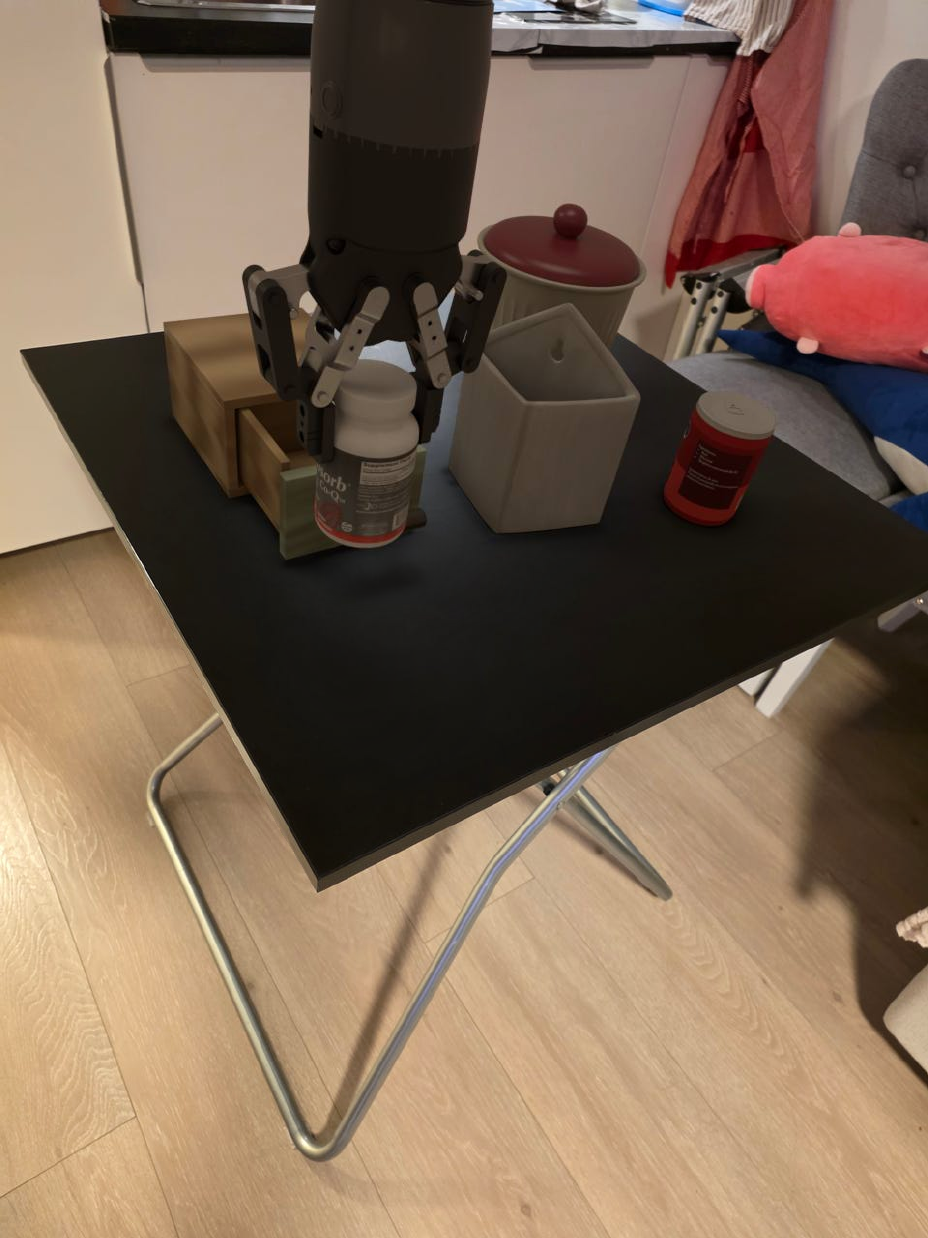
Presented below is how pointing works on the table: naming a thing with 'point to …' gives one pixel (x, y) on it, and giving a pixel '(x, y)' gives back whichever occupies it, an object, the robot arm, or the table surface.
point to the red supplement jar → (718, 457)
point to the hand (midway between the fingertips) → (368, 445)
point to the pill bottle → (369, 457)
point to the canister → (562, 269)
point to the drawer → (294, 477)
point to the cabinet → (218, 385)
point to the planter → (542, 424)
